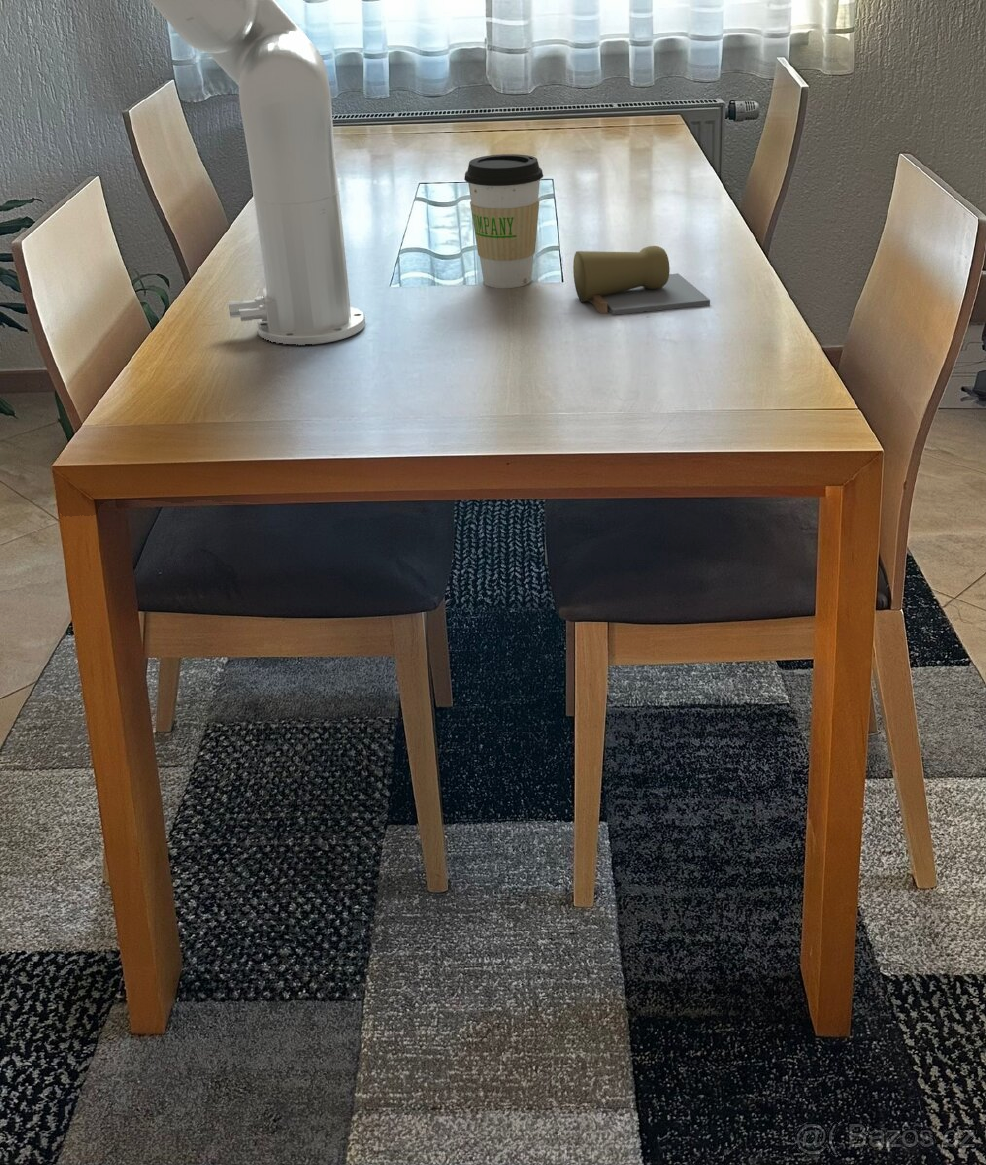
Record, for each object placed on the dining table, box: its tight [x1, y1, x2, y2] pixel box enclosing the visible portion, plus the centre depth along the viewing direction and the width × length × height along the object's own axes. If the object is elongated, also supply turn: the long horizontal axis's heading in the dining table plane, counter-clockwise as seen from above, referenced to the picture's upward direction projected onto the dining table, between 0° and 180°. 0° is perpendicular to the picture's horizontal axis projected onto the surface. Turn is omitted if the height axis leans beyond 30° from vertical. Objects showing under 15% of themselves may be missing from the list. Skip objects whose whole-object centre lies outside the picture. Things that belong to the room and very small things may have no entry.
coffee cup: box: [463, 153, 544, 289], centre depth 162 cm, size 10×10×15 cm
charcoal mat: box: [602, 272, 711, 316], centre depth 158 cm, size 12×12×1 cm
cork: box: [572, 245, 671, 303], centre depth 157 cm, size 6×6×11 cm
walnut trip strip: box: [588, 295, 608, 314], centre depth 157 cm, size 1×10×1 cm, turn 11°
